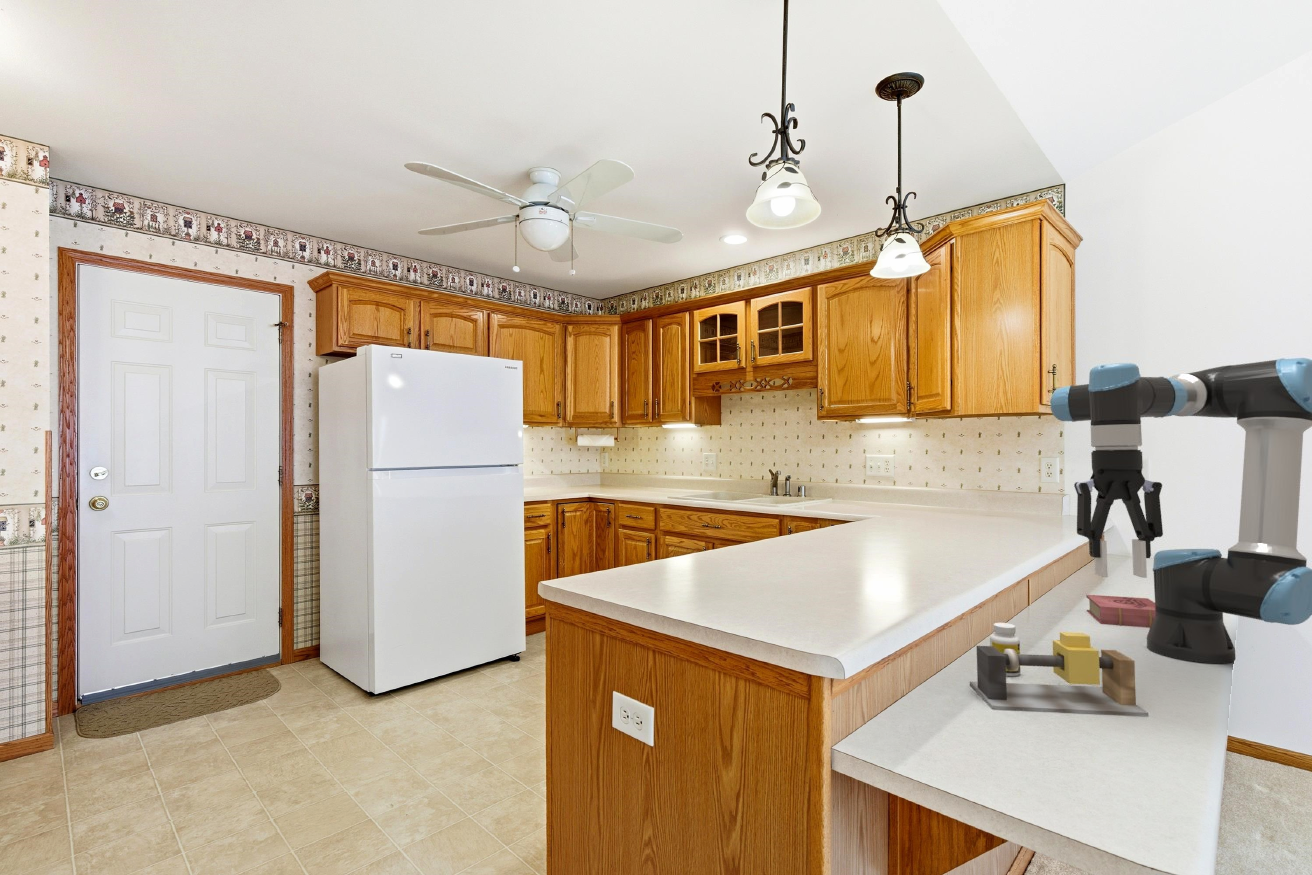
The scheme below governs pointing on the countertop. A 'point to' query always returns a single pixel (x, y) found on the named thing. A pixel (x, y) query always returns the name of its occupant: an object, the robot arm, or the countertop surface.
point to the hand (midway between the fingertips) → (1120, 575)
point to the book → (1122, 610)
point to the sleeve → (1077, 659)
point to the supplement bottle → (1005, 641)
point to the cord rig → (1107, 699)
